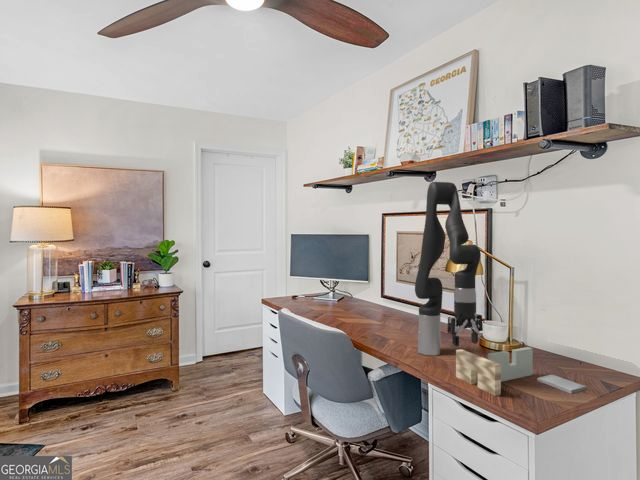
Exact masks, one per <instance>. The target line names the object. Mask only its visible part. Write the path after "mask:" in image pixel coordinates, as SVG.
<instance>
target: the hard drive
mask: <svg viewBox="0 0 640 480" xmlns="http://www.w3.org/2000/svg"><path fill="white" fill-rule="evenodd" d="M536 380H537V381H538V382H540V383H543V384H546V385H548V386H551V387H553V388H556V389H559V390H561V391H563V392H566V393H568V394H575V393H579V392H581V391H586V390H588V387H587V386H586V385H583V384H580V383H577V382H576V381H575V382H574V381H572V380H568V379H565V378H562V377H560V376H558V375H555V374H548V375H544V376H540V377H537V379H536Z"/></svg>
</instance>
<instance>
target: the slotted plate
mask: <svg viewBox="0 0 640 480" xmlns="http://www.w3.org/2000/svg"><path fill="white" fill-rule="evenodd" d="M533 349H534V348H532V347H530V346H526V347H520V348H516V349H511V362H510V352H509V351H506V350H502V351H497V352H490V353H487V359H488V360H490V361H493V362H496V363H498V364H501V383H502V382H506V381H509V380H516V379H521V378H526V377H530V376H533V357H534V356H533V355H534V354H533Z"/></svg>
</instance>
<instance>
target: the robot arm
mask: <svg viewBox="0 0 640 480" xmlns="http://www.w3.org/2000/svg"><path fill="white" fill-rule="evenodd" d="M427 187H428V189H427V193H426V207H425V209H426V210H425V222H424V229H423V234H422V240H421V241H422V243H421V250H420V251H421V252H420V260H419V265H418V269H417V270H418V271H417V274H416V278H415V282H414V283H415V284H414V294H415V296H416V297H417V298H418V299H419V300H428V301H426V303H424V304H422V305H420V306H419V307H418V331H417V353H418V354H421V355H425V356H433V357H434V356H439V355H441V311H442V309H443V308H442V307H443V291H444V290H443V283H442V280H441V279H440V278H439V277H430V275H431V270H432V269H433V267H434V266H435V264H436V263H437V262H438V261H439V260H440V258H441V257H442V254H443V253H444V250H445V244H446V234H447V237H448V242H449V260H450V261H451V262H452V263H453V264H454V265H466V267H465V268H464V269H462V270H458V271H456V272H455V273H454V290H453V291H454V292H453V310H454V311H453V312H454V313H455V316H454V317H451V316H449V317H447V328H446V329H447V334H449V335H451V336H452V339H451V340H452V345H453V346H454V347H456V348H457V347H459V346H460V336H459V335H460V334H461V332H463V330H465V329H469V330H470V331H471V332H470V333H471V335H470V336H471V338H470V339H471V342H470V343H472V344H478V342H479V333H480V332H483V331H484V330H483V329H484V328H483V327H484V326H483V325H484V324H483V315H481V314H478V313H477V290H476V276H477V272H478V267H479V265H480V261H481V256H482V255H481V250H480V248H479V246H478V245H475V244H467V242H469V238H470V235H469V233H468V231H467V227H466V225H465V222H464V219H463V215H462V209H461V203H460V198H459V191H458V188H457V186H456V184H455V183H453V182H448V181H446V182H445V181H431V182H430V183H429V184H428V186H427ZM438 205H443V206H447V205H448V207H449V213H448V215H447V217H446V220H445V223H444V224H445V225H444V226H445V230H444V228H443V227H442V226H443V225H442V224H441V222H440V220H439V217H438ZM445 232H446V233H445Z"/></svg>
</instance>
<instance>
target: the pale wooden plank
mask: <svg viewBox="0 0 640 480" xmlns="http://www.w3.org/2000/svg"><path fill="white" fill-rule="evenodd" d="M455 377H456V378H457V379H459V380H461V381H463V382H465V383H467V384H470V385H474V384H475V385H476V384H477V389H481V390H482V391H484V392H486V393H489V394H491V395H492V396H494V397H496V396H501V393H502V392H501V391H502V390H501V388H502V385H501V384H502V382H501V364H498V363H496V362H493V361H490V360H488V358H485V357H483V356H479V355H477V354H475V353H472V352H470V351H467V350H464V349H463V348H462V349H456V350H455Z"/></svg>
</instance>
